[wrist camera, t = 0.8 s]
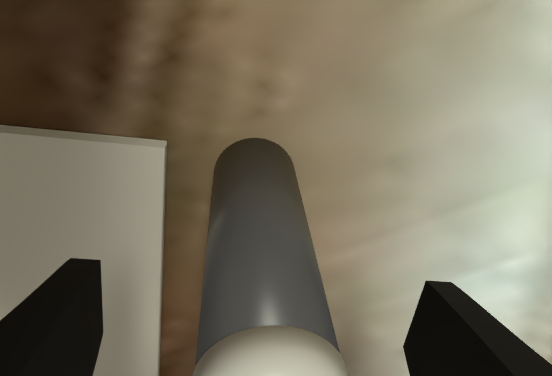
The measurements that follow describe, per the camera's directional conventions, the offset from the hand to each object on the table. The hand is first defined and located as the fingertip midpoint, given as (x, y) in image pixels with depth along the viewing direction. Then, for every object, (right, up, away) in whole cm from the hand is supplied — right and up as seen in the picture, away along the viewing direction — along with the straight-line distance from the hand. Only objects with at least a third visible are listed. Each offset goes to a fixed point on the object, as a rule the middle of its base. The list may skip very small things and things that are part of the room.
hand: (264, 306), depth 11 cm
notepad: (-9, -1, +7) cm, 12 cm away
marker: (0, +3, +6) cm, 7 cm away
